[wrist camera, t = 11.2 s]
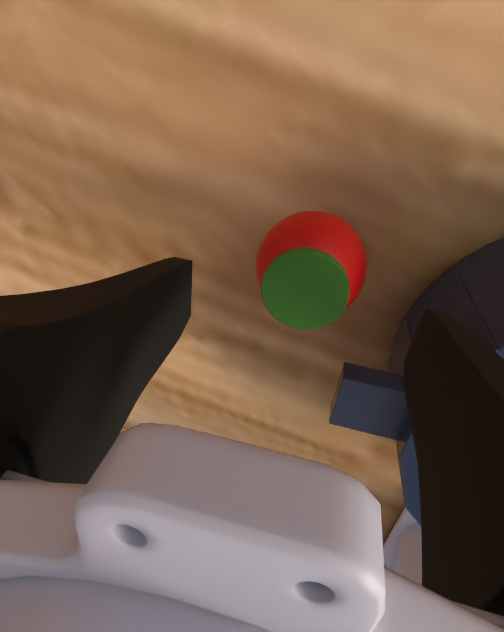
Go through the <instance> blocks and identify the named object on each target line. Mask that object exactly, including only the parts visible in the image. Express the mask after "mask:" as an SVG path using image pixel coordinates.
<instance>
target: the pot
mask: <svg viewBox="0 0 504 632" xmlns="http://www.w3.org/2000/svg"><path fill="white" fill-rule="evenodd" d="M426 308H430V309H435V310H440V311H445V312H448V313H450V314H451V315H453V316H454V317H455V318H457V319H458V320H459V321H460V322H462V323H463V324H464V325H465V326H466V327H467V328H468V329H470V330H471V331H472V332H473V333H474V334H475V335H476V336H478V337H479V338H480V339H481V340H482V341H483V342H484V343H485V344H487V345H488V346H489V347H490V348H491V349H492V350H494V351H495V352H496V353H497V354H498V355H500V356H501V357H502V358H503V359H504V238H502V239H500V240H497V241H495V242H493V243H491V244H488V245H486V246H485V247H483V248H481V249H479V250H478V251H476V252H474V253H472V254H471V255H469V256H467V257H465V258H464V259H462V260H461V261H459V262H458V263H457V264H455V265H454V266H453V267H451V268H450V269H448V270H447V271H446V272H444V273H443V274H442V275H441V276H440V277H439V278H438V279H436V280H435V281H434V282H433V283H432V284H431V285H430V286H429V287H428V288H427V289H426V290H425V291H424V292H423V293H422V295H421V296H420V297H419V298H418V299H417V300H416V301H415V303H414V304H413V305H412V307H411V308H410V310H409V311H408V313H407V314H406V316H405V317H404V319H403V321H402V323H401V325H400V327H399V329H398V331H397V334H396V336H395V339H394V343H393V346H392V350H391V355H390V358H389V360H388V372H386V371H381V370H377V369H373V368H368V367H364V366H359V365H355V364H350V363H346V362H344V363H343V366H342V370H341V373H340V376H339V380H338V383H337V386H336V389H335V393H334V396H333V399H332V402H331V406H330V417H329V423H330V424H334V425H338V426H342V427H346V428H350V429H354V430H358V431H362V432H366V433H370V434H374V435H378V436H382V437H386V438H390V439H394V440H396V444H397V453H398V462H399V468H400V475H401V482H402V489H403V495H404V502H405V507H406V509H407V510H408V511H409V513H410V514H411V515H412V516H413V518H414V519H415V520H416V521H417V522H418V524H419V525H420V526H421V512H420V492H419V477H418V465H417V458H416V451H415V446H414V441H413V436H412V430H411V425H410V420H409V414H408V409H407V403H406V398H405V392H404V360H405V358H406V355H407V353H408V350H409V348H410V346H411V343H412V341H413V338H414V336H415V333H416V331H417V329H418V326H419V324H420V321H421V319H422V317H423V314H424V312H425V309H426Z"/></svg>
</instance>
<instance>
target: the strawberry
mask: <svg viewBox="0 0 504 632" xmlns="http://www.w3.org/2000/svg"><path fill="white" fill-rule="evenodd" d="M366 271H367V258H366V253H365V249H364V246H363V244H362V241H361V239H360V238H359V236H358V235H357V233H356V232H355V231H354V229H353V228H352V227H351V226H350V225H349V224H348V223H346V222H345V221H344V220H342V219H341V218H339V217H337V216H335V215H332V214H330V213H326V212H321V211H304V212H299V213H296V214H293V215H290V216H288V217H286V218H284V219H283V220H281V221H280V222H278V223H277V224H276V225H275V226H274V227H273V228H272V229H271V230H270V231H269V232H268V233H267V235H266V236H265V238H264V239H263V241H262V243H261V245H260V248H259V251H258V255H257V260H256V274H257V279H258V283H259V286H260V289H261V294H262V299H263V301H264V304H265V306H266V308H267V309H268V311H269V312H270V313H271V314H272V316H273V317H275V318H276V319H277V320H278V321H280V322H281V323H283V324H285V325H287V326H289V327H292V328H296V329H301V330H313V329H318V328H322V327H325V326H327V325H329V324H331V323H332V322H334V321H335V320H336V319H338V318H339V317H340V316H341V314H342V313H343V312H344V310H345V309H346V308H347V307H348V306H349V305H350V304H351V303H352V302H353V301H354V300H355V299H356V297H357V296H358V294H359V293H360V291H361V289H362V287H363V284H364V281H365V277H366Z"/></svg>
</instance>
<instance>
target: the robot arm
mask: <svg viewBox="0 0 504 632" xmlns="http://www.w3.org/2000/svg"><path fill="white" fill-rule="evenodd" d="M191 291H192V261H191V260H186V259H181V258H176V257H172V258H167V259H164V260H161V261H157V262H154V263H151V264H149V265H146V266H143V267H140V268H137V269H134V270H131V271H128V272H125V273H122V274H119V275H115V276H112V277H109V278H105V279H102V280H99V281H95V282H91V283H87V284H83V285H78V286H73V287H69V288H64V289H58V290H51V291H43V292H36V293H28V294H19V295H7V296H0V632H504V359H503V358H502V357H501V356H500V355H498V354H497V353H496V352H495V351H494V350H492V349H491V348H490V347H489V346H488V345H487V344H485V343H484V342H483V341H482V340H481V339H480V338H479V337H478V336H476V335H475V334H474V333H473V332H472V331H471V330H470V329H468V328H467V327H466V326H465V325H464V324H463V323H462V322H460V321H459V320H458V319H457V318H455V317H454V316H453V315H451V314H450V313H448V312H445V311H440V310H435V309H430V308H426V309H425V312H424V314H423V317H422V319H421V321H420V324H419V326H418V329H417V331H416V333H415V336H414V338H413V341H412V343H411V346H410V348H409V350H408V353H407V355H406V358H405V360H404V392H405V398H406V403H407V409H408V414H409V420H410V425H411V430H412V436H413V441H414V446H415V451H416V458H417V465H418V477H419V492H420V512H421V526H420V525H419V524H418V522H417V521H416V520H415V519H414V518H413V516H412V515H411V514H410V513H409V511H408V510H407V509H406V507H405V508H404V509H403V511H402V513H401V515H400V517H399V518H398V520H397V522H396V524H395V525H394V527H393V529H392V531H391V533H390V534H389V536H388V538H387V540H386V541H385V543H384V545H383V539H382V522H381V505H380V503H379V502H378V501H377V500H376V498H375V497H374V496H373V495H372V494H371V493H370V491H369V490H368V489H367V488H366V487H365V486H364V484H363V483H362V482H361V481H360V480H358V479H356V478H355V477H352V476H350V475H348V474H346V473H344V472H341V471H339V470H337V469H335V468H333V467H331V466H328V465H326V464H323V463H319V462H315V461H312V460H308V459H304V458H300V457H296V456H292V455H289V454H285V453H281V452H277V451H273V450H270V449H266V448H262V447H258V446H254V445H250V444H247V443H243V442H239V441H235V440H231V439H227V438H224V437H220V436H216V435H212V434H208V433H205V432H201V431H197V430H193V429H189V428H185V427H182V426H178V425H167V424H152V423H141V424H139V425H137V426H135V427H133V428H131V429H129V430H127V431H125V432H123V433H121V434H120V435H119V433H120V431H121V429H122V427H123V425H124V424H125V422H126V420H127V418H128V416H129V414H130V412H131V411H132V409H133V407H134V405H135V403H136V401H137V400H138V398H139V396H140V395H141V393H142V391H143V390H144V388H145V387H146V385H147V384H148V382H149V381H150V380H151V378H152V377H153V375H154V374H155V373H156V371H157V370H158V368H159V367H160V366H161V364H162V363H163V361H164V360H165V358H166V357H167V356H168V354H169V353H170V351H171V350H172V348H173V347H174V346H175V344H176V343H177V341H178V340H179V338H180V336H181V334H182V332H183V330H184V328H185V326H186V324H187V322H188V320H189V318H190V316H191ZM118 435H119V437H118ZM117 437H118V438H117ZM116 439H117V440H116Z"/></svg>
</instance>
